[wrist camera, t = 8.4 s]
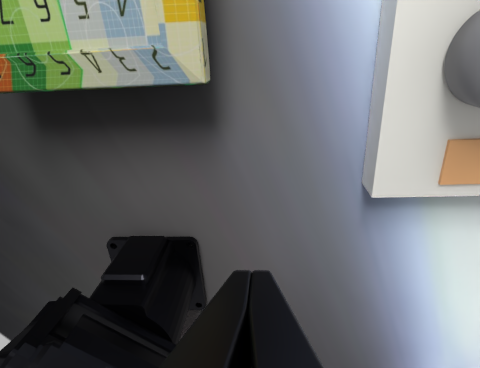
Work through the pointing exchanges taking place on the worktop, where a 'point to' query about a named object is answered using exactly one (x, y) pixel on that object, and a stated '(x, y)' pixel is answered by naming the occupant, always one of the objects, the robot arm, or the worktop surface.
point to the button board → (420, 106)
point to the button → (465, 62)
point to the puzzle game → (101, 44)
